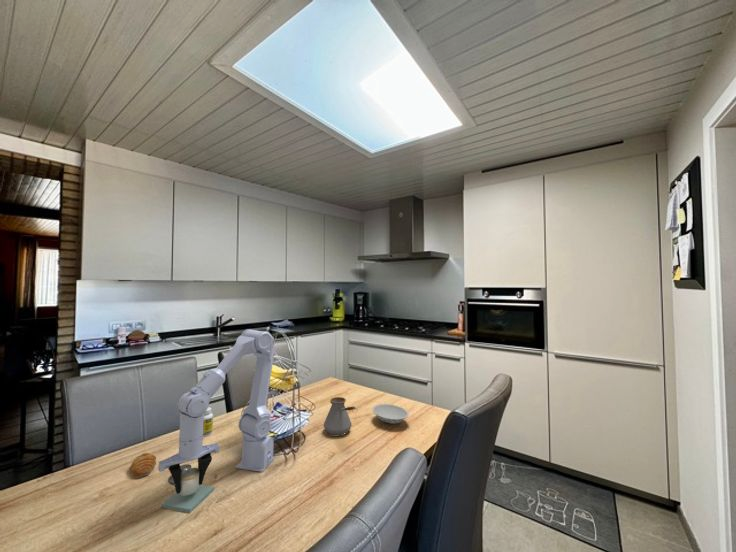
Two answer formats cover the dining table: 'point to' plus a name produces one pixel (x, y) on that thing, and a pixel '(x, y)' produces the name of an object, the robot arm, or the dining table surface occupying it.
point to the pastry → (143, 465)
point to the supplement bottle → (207, 422)
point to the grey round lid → (182, 471)
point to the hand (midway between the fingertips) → (189, 487)
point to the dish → (390, 413)
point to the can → (189, 481)
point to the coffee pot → (338, 417)
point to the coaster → (187, 499)
